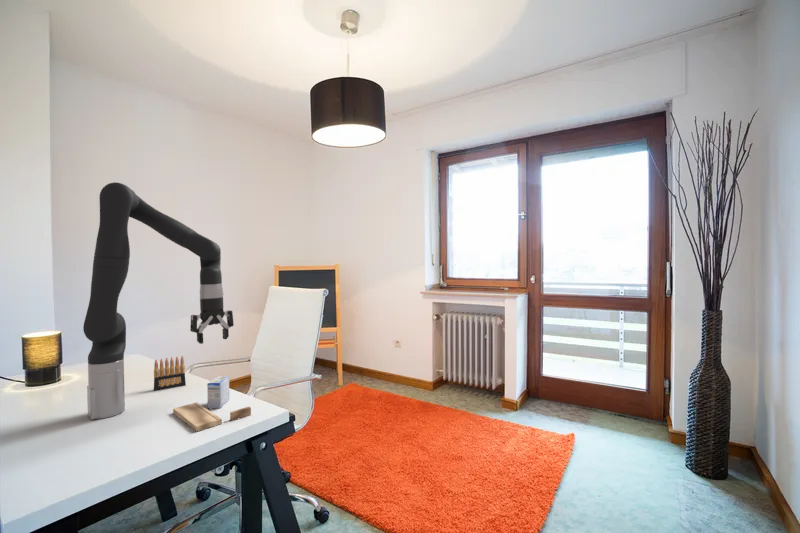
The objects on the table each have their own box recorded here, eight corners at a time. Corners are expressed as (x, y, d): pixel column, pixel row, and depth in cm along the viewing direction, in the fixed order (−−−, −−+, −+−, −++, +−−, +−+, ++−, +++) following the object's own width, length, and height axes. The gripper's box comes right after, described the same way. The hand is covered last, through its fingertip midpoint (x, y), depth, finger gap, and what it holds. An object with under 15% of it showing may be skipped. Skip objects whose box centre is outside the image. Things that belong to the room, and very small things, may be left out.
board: (196, 431, 107) (196, 426, 107) (173, 413, 121) (173, 408, 121) (221, 423, 112) (221, 418, 112) (196, 406, 127) (196, 402, 127)
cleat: (231, 420, 114) (231, 413, 114) (230, 419, 115) (230, 412, 115) (250, 414, 119) (250, 407, 119) (249, 413, 120) (249, 406, 120)
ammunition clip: (154, 391, 144) (153, 360, 144) (153, 390, 145) (153, 359, 145) (185, 385, 150) (185, 355, 150) (185, 384, 152) (184, 354, 152)
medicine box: (216, 400, 132) (216, 376, 132) (229, 400, 133) (229, 375, 133) (207, 409, 124) (206, 383, 124) (221, 408, 125) (220, 382, 125)
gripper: (226, 294, 143) (227, 336, 143) (186, 298, 132) (188, 343, 132) (235, 295, 138) (237, 338, 138) (195, 299, 127) (196, 346, 127)
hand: (213, 341), depth 135 cm, fingers open, 8 cm apart
